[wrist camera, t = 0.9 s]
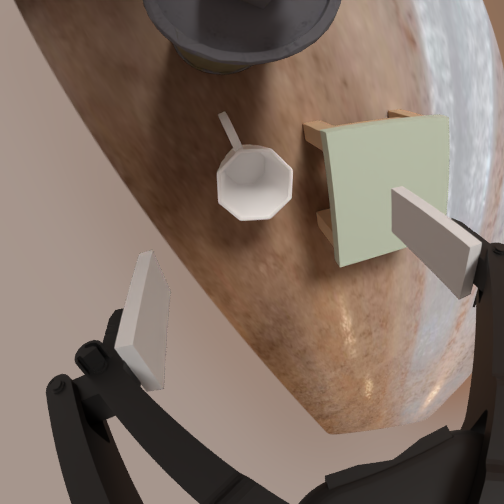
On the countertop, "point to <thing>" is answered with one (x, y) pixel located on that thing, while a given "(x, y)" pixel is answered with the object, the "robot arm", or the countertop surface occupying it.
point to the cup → (252, 179)
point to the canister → (240, 29)
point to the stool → (378, 177)
